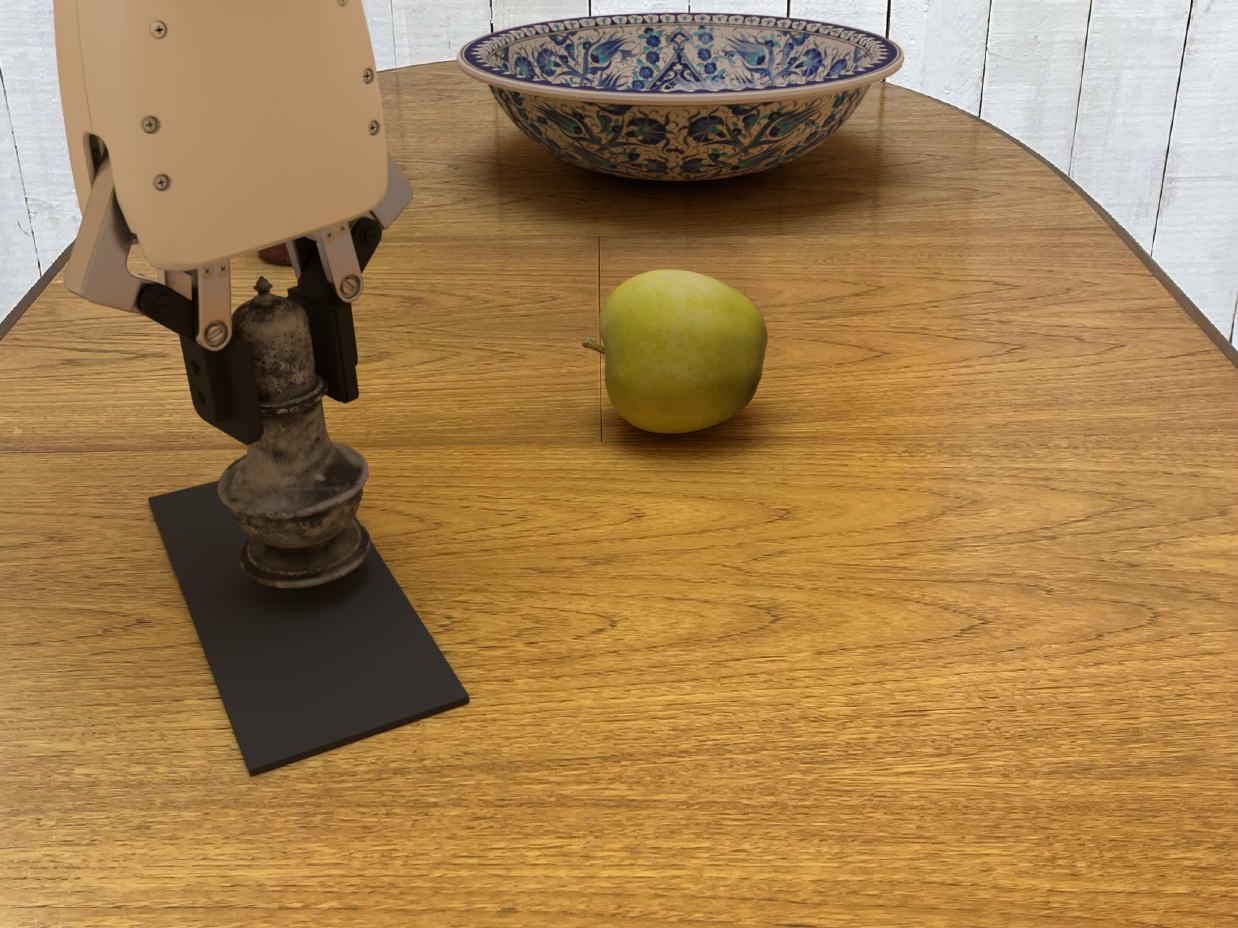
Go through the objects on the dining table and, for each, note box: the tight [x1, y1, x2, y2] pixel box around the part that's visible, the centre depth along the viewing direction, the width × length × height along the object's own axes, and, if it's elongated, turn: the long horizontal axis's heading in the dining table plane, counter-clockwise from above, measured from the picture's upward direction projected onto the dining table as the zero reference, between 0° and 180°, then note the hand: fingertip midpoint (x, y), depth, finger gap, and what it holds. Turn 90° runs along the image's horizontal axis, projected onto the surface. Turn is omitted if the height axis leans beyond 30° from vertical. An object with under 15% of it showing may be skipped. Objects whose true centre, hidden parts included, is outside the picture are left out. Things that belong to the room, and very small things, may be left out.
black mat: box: [147, 480, 471, 777], centre depth 52 cm, size 8×20×1 cm, turn 27°
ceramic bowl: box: [456, 12, 905, 182], centre depth 99 cm, size 34×34×10 cm
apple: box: [581, 269, 769, 434], centre depth 62 cm, size 8×9×8 cm
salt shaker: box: [217, 275, 371, 588], centre depth 49 cm, size 6×6×12 cm
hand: (282, 406), depth 48 cm, fingers closed on salt shaker, 3 cm apart
